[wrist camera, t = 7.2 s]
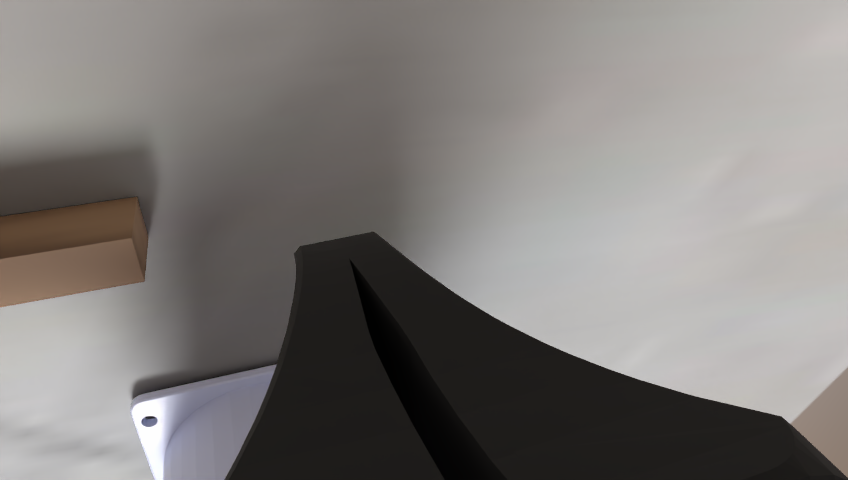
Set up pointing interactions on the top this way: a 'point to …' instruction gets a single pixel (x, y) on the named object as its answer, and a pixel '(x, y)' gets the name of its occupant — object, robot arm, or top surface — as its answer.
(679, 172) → the top surface
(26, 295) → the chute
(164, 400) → the robot arm
